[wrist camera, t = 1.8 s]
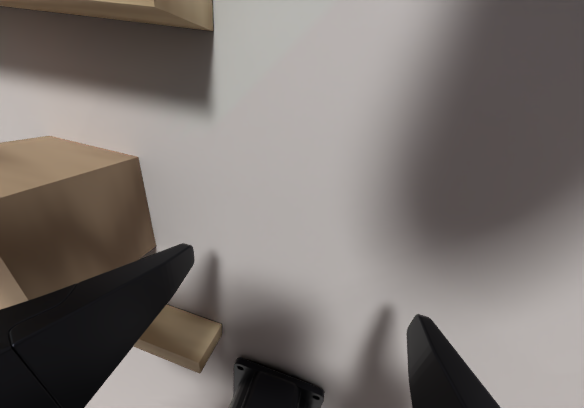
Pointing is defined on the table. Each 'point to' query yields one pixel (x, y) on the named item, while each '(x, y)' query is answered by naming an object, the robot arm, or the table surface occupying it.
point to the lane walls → (170, 321)
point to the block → (67, 215)
